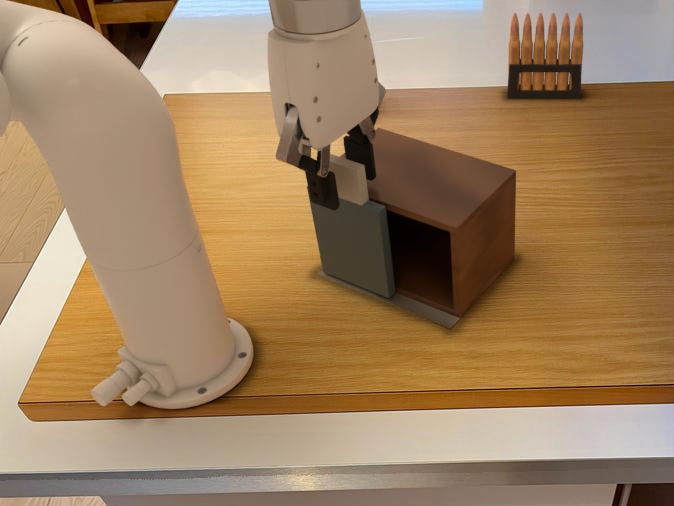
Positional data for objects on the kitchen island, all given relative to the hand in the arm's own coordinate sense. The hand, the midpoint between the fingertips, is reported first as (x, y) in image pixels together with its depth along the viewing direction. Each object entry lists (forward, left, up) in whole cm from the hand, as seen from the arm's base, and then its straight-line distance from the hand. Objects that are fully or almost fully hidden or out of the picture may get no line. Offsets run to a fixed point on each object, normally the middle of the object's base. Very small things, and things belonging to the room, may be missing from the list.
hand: (344, 188), depth 81 cm
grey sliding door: (0, 0, -12) cm, 12 cm away
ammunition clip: (+48, +3, -13) cm, 50 cm away
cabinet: (+7, -4, -12) cm, 15 cm away
